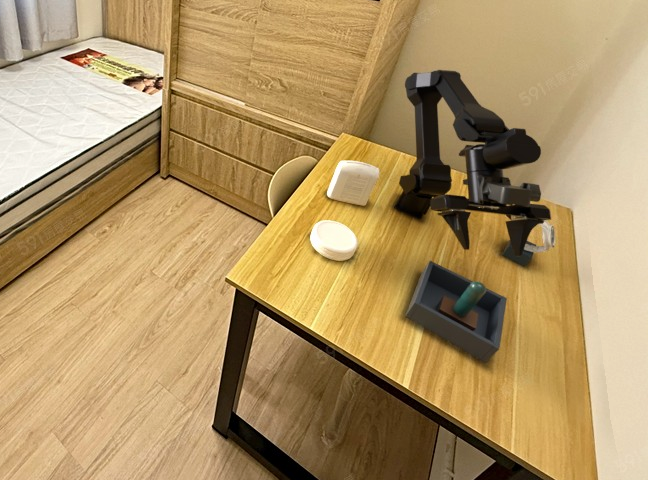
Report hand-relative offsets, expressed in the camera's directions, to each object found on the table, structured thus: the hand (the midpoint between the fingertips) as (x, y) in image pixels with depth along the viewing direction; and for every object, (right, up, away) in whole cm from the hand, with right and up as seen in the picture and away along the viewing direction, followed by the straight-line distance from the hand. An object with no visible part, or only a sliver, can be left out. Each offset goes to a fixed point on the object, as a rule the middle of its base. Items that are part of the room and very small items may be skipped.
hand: (492, 252), depth 78 cm
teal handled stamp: (-6, -14, +3) cm, 16 cm away
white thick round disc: (-22, -4, +19) cm, 30 cm away
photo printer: (-12, +5, +33) cm, 35 cm away
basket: (-5, -14, +4) cm, 16 cm away
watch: (+21, -6, +18) cm, 28 cm away
